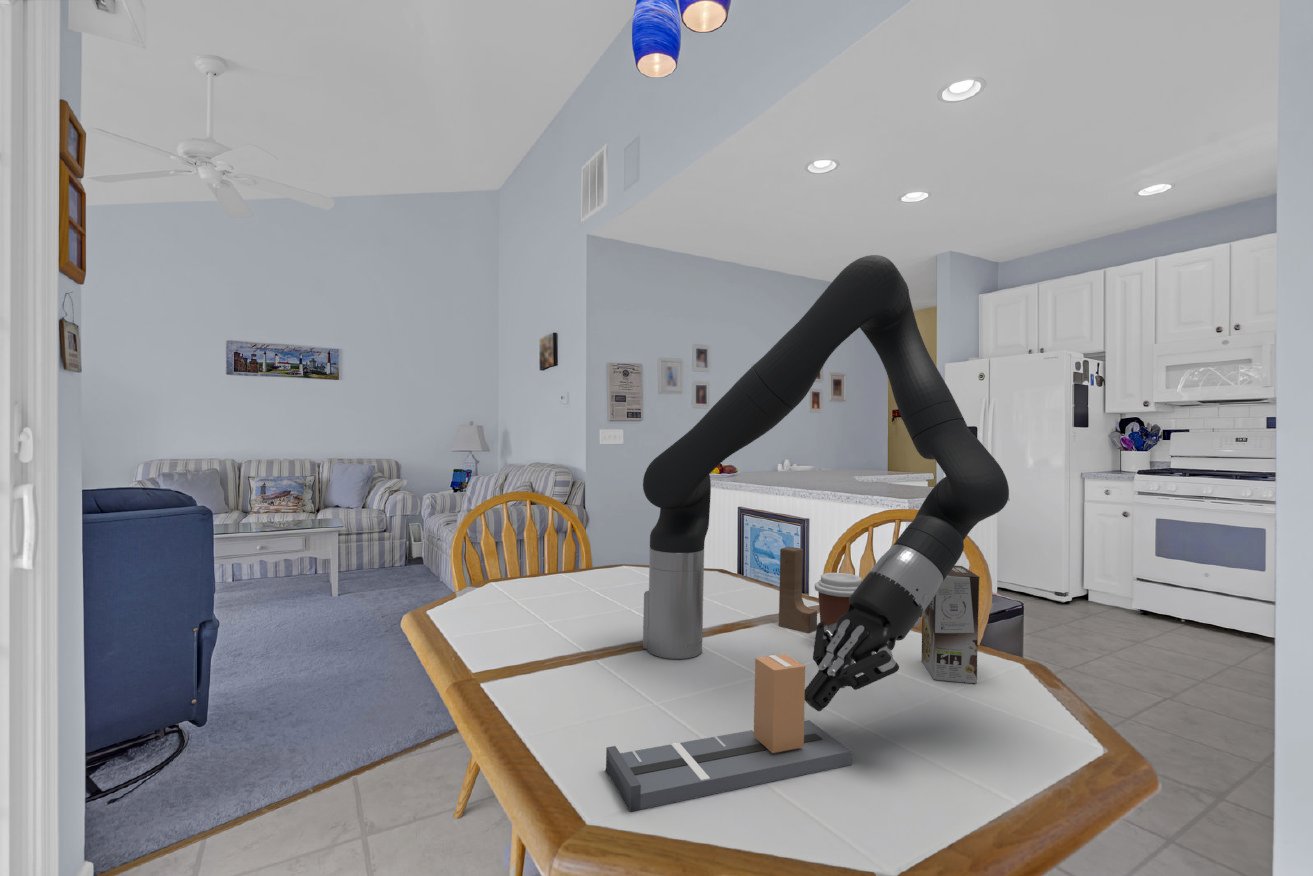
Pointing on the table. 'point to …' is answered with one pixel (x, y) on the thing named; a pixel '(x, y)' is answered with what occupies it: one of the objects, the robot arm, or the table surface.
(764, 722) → the fader tab
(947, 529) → the robot arm
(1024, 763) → the table surface
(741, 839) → the table surface
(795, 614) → the wooden block
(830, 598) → the coffee cup
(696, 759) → the fader rail
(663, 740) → the table surface
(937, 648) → the coffee box
